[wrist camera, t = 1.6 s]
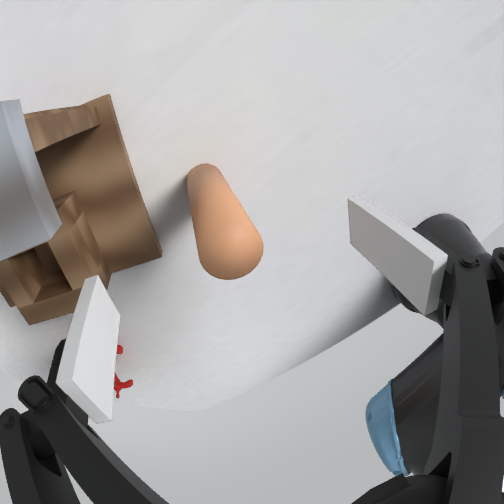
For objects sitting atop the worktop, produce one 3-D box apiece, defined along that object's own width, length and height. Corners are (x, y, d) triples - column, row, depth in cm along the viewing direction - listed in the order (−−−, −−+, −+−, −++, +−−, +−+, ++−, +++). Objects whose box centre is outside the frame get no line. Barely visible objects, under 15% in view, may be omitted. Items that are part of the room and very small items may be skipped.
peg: (226, 193, 29) (268, 268, 17) (192, 203, 29) (209, 287, 17) (218, 159, 28) (256, 213, 16) (182, 169, 27) (190, 233, 15)
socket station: (161, 251, 30) (164, 404, 15) (13, 301, 28) (-41, 424, 13) (109, 94, 22) (12, 94, 7) (-46, 179, 20) (-155, 261, 5)
